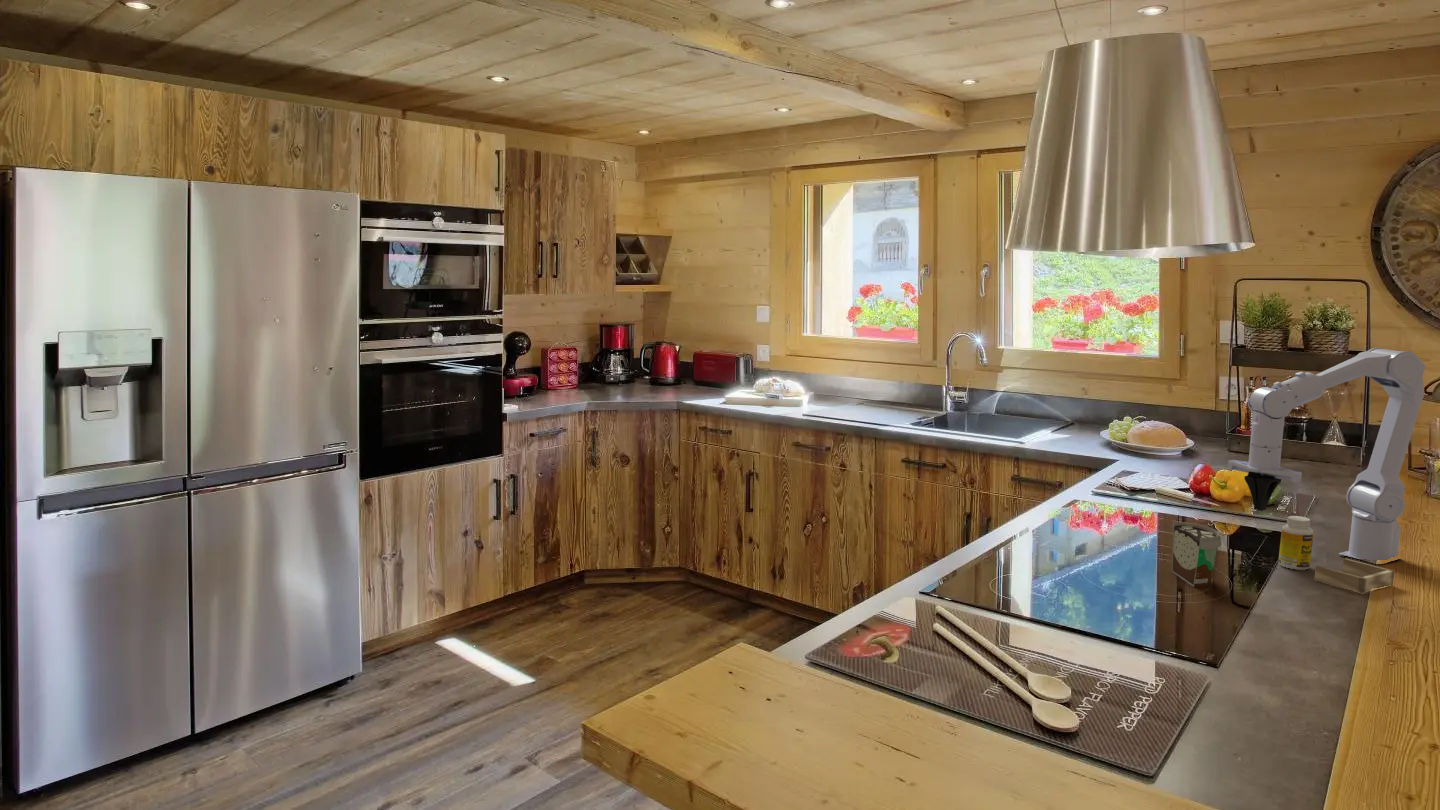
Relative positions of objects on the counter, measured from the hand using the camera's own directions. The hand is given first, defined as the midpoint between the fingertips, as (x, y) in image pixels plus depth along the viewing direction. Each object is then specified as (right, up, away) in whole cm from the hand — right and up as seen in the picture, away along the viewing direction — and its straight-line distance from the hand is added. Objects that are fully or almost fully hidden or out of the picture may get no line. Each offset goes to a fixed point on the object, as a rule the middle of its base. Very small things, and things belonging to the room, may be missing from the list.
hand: (1259, 509), depth 198 cm
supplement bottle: (+4, -11, -5) cm, 13 cm away
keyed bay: (+10, -13, -14) cm, 21 cm away
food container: (-20, -12, -13) cm, 27 cm away
